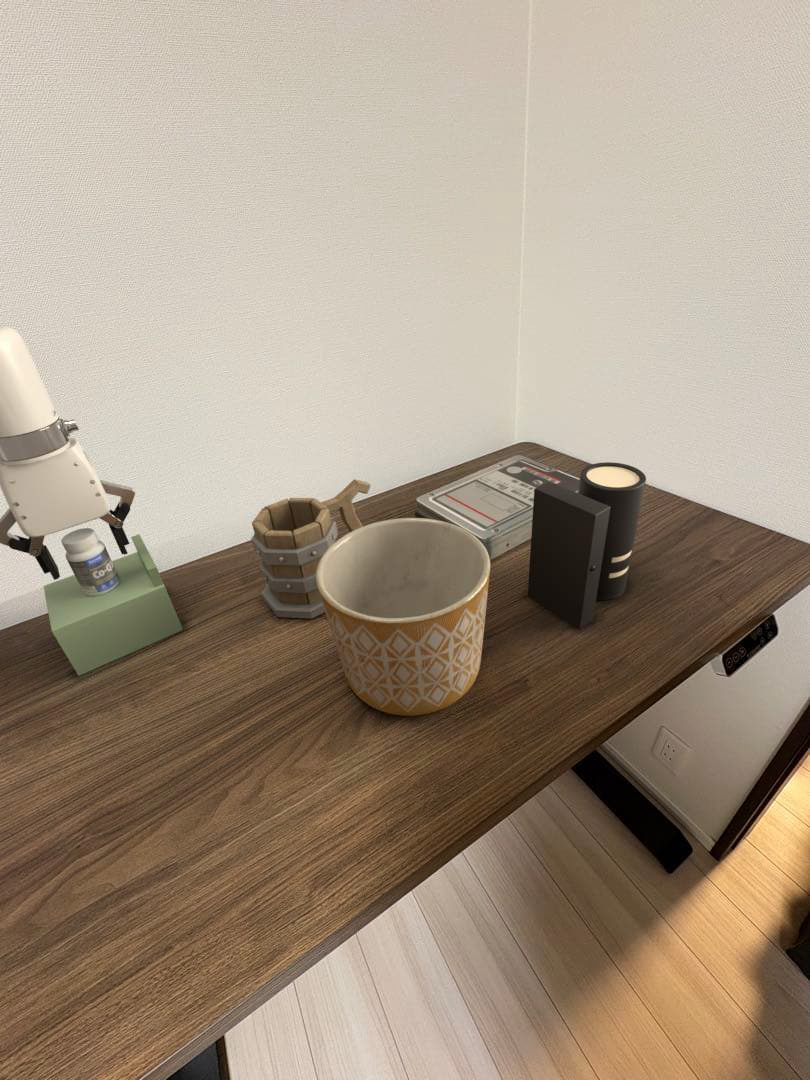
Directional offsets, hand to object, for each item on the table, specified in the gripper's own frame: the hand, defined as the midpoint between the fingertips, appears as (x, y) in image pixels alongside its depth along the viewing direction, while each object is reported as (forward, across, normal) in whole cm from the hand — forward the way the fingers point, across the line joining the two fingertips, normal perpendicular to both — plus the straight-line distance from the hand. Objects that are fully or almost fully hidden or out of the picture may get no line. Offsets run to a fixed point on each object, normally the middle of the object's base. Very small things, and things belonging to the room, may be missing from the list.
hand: (90, 561), depth 72 cm
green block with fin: (+12, 0, 0) cm, 12 cm away
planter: (+13, -29, +33) cm, 46 cm away
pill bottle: (+4, 0, 0) cm, 4 cm away
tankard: (+13, -29, +10) cm, 33 cm away
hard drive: (+13, -64, +13) cm, 67 cm away
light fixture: (+13, -57, +37) cm, 69 cm away
